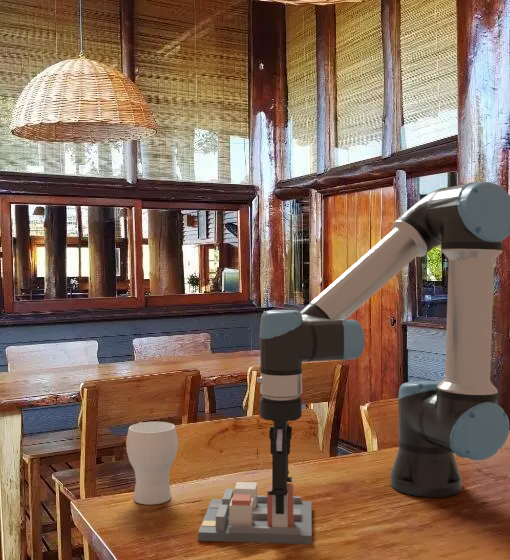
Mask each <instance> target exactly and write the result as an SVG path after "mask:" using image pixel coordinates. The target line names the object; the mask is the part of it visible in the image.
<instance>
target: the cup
mask: <svg viewBox="0 0 510 560" xmlns="http://www.w3.org/2000/svg"><path fill="white" fill-rule="evenodd" d="M127 431H128V432H127V435H126V439H125V441H126V443H125V444H126V453H127V457H128V460H129V463H130V465H131V466H132V468H133V471H134V475H135V486H134V492H133V494H134V495H133V501H134V502H135V503H137V504H141V505H150V506H151V505H160V504H163V503H164V504H165V503H166V502H169V501H170V500H171V498H172V492H171V487H170V482H169V481H170V480H169V479H170V472H171V468H172V466H173V463H174V462H175V459H176V456H177V453H178V452H177V451H178V447H179V445H178V444H179V437H178V434H177V430H176V425H175V424H174V423H170V422H166V421H146V422H143V421H142V422H138V423H135V424H131V425H130V426H129V428H128V429H127Z"/></svg>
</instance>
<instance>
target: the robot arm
mask: <svg viewBox="0 0 510 560" xmlns="http://www.w3.org/2000/svg"><path fill="white" fill-rule="evenodd" d="M509 236H510V194H508V192H507V190H506V189H505V188H503V187H502V186H500V185H499V184H496V183H495V182H489V181H479V182H478V181H476V182H475V181H474V182H468V183H463V184H460V185H453V186H450V187H443V188H441V187H440V188H438V189H435V190H434V191H433V190H432V191H431V192H429V193H428V194H426V195H425V196H423V197H422V198H421V199H419V200H418V201H417V202H415V203H414V204H413V205H412V206H411V207H409V208H408V209H407V210H406V211H405V212H404V213H403V214H401V215H400V216H399V217H398V218H397V219H395V221H393V223H392V224H391V231H390V232H388V233H387V234H386V235H385V236H383V238H381V239H380V240H379V242H377V243H376V244H375V245H374V246H373V247H372V248H370V250H368V251H367V252H366V253H365V254H364V255H362V257H361V258H359V259H358V260H357V261H356V262H355V263H354V264H352V265H351V266H350V267H349V268H348V269H347V270H346V271H345V272H343V273H342V274H341V275H340V276H339V277H338V278H337V279H335V280H334V281H333V282H332V283H331V284H330V285H329V286H327V288H325V289H324V290H323V291H322V292H321V293H320V294H319V295H318V296H316V297H315V298H314V299H313V300H312V301H310V302H309V303H308V304H306V306H305V307H303V308H302V309H301V310H300V311H299V310H297V309H271V310H270V309H269V310H266V311H264V312H263V313H262V314H261V317H260V323H259V334H258V335H259V337H258V338H259V356H260V357H259V359H260V360H259V361H260V364H259V365H260V371H259V372H260V374H259V375H260V376H259V377H256V383H260V384H259V385H260V387H259V392H260V394H261V395H262V396H261V397H260V398H259V417H260V418H261V419H263V420H266V421H271V422H272V423H273V425H271V426H269V433H268V434H269V435H268V438H269V440H270V451H269V452H270V454H271V455H272V460H271V461H272V463H271V465H272V467H271V469H272V473H271V477H272V479H271V480H272V482H271V483H272V491H269V492H268V494H269V495H272V527H288V490H287V484H290V483H292V482H293V477H292V476H289V474H290V471H289V455H290V454H291V440H292V437H293V436H292V435H293V434H292V433H293V428H292V427H293V426H290V424H289V421H291V422H294V421H297V420H299V419H301V417H302V413H303V411H302V410H303V409H302V408H303V407H302V406H303V405H302V403H303V402H302V401H303V400H302V398H301V397H300V396H301V395H302V394H303V363H311V362H330V361H332V362H333V361H334V362H335V361H342V362H345V361H348V360H356V359H358V358H359V357H361V356H362V354H363V351H364V349H365V333H364V329H363V327H362V324H361V323H360V322H359V321H358V320H355V319H349V317H351V316H352V315H353V314H354V313H355V312H356V311H358V310H359V309H360V308H361V307H362V306H363V305H364V304H365V303H366V302H368V301H369V299H370V298H372V297H373V296H374V295H375V294H376V293H377V292H378V291H379V290H381V289H382V288H383V287H384V286H385V285H386V284H387V283H388V282H389V281H391V280H392V279H393V278H394V277H395V276H396V275H398V274H399V273H400V271H402V270H403V269H404V268H405V267H406V266H407V265H408V264H410V263H411V262H412V261H413V260H414V259H415V258H416V257H418V258H420V257H421V258H423V257H424V256H426V255H427V254H428V253H429V252H430V251H431V250H433V249H434V248H437V247H439V246H441V247H440V249H441V253H442V254H443V255H444V256H445V257H446V258H447V259H448V271H447V272H448V273H447V274H448V279H447V304H446V334H445V335H446V336H445V337H446V338H445V364H444V365H445V369H444V378H443V379H442V380H419V381H410V382H409V381H408V382H404V383H402V384H401V385H400V387H399V388H398V389H399V390H398V398H397V402H398V448H397V449H398V450H397V452H396V457H395V459H394V462H393V465H392V468H391V471H390V474H389V475H390V476H389V477H390V482H389V483H390V486H391V488H393V489H394V490H396V491H397V492H398V491H399V492H401V493H403V494H407V495H409V496H416V497H421V498H444V497H445V498H446V497H451V495H452V496H454V494H455V495H457V494H459V493H460V492H462V488H463V487H462V481H463V480H462V476H461V473H460V469H459V466H458V464H457V460H456V457H457V456H458V457H461V458H463V459H469V460H471V461H483V460H484V461H485V460H487V459H490V458H492V457H493V456H495V455H496V454H497V453H498V451H499V450H501V449H502V448H503V447H504V446H505V443H506V442H507V439H508V436H509V432H510V420H509V417H508V415H507V413H506V412H505V410H504V408H502V407H501V406H500V405H499V404H498V399H499V397H498V393H499V392H498V391H499V390H498V389H497V387H495V386H494V384H493V383H492V382H491V357H492V356H491V355H492V353H491V352H492V328H493V327H492V326H493V324H492V323H493V298H494V270H495V268H494V266H495V260H496V259H497V258H498V257H499V256H500V255H502V253H503V246H504V242H503V241H504V240H505V239H507V238H508V237H509ZM455 455H456V456H455Z"/></svg>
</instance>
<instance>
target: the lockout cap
mask: <svg viewBox="0 0 510 560" xmlns="http://www.w3.org/2000/svg"><path fill="white" fill-rule="evenodd" d="M287 490H288V527H293V496H294V483H289V484H287ZM269 491H272V482H269V483H268V486H267V495H266V496H267V527H272V495H269V494H268V492H269Z"/></svg>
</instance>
